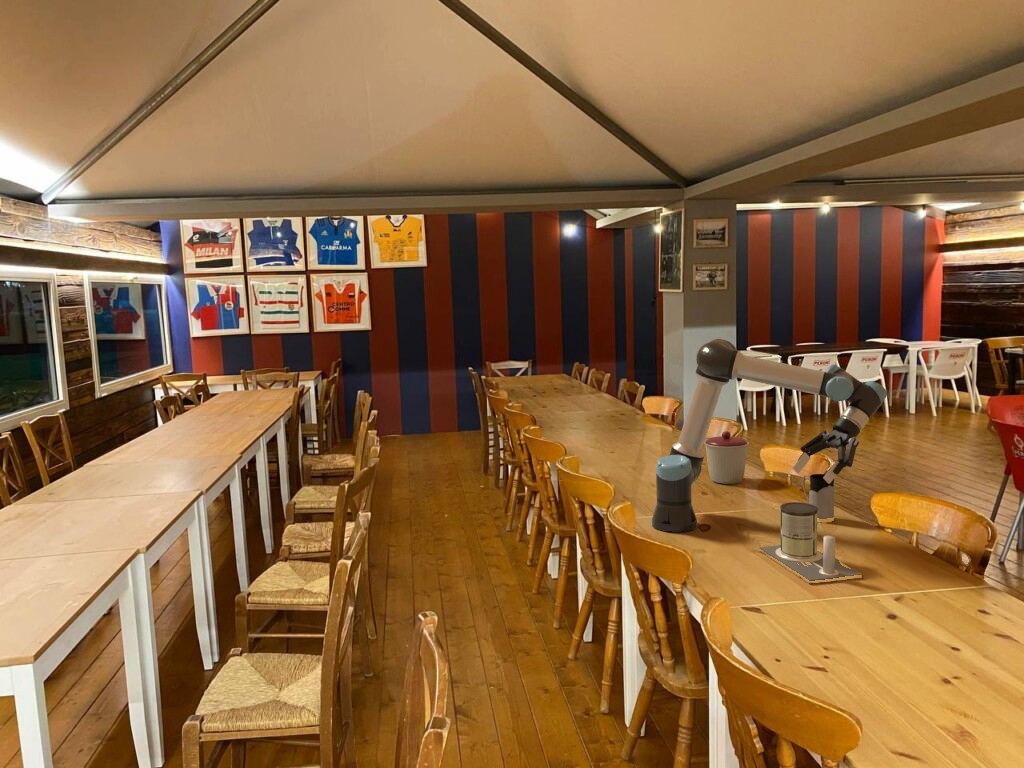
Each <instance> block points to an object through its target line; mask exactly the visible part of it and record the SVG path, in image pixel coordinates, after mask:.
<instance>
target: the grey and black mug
mask: <svg viewBox="0 0 1024 768" xmlns="http://www.w3.org/2000/svg"><path fill="white" fill-rule="evenodd" d="M825 475H826V473H814V474H811V475H809V474H805V475H803V477H802V488H803V493H804V495H805V496H804V497H806V499H807V501H808V504H812V505H814V506H816V507H817V508H818V511H817V518H819V519H827V518H833V517H834V518H835V478H834V479H833V480H832V481H831V483H830V484H829V483H827V482H826V481H825V479H824V478H823V477H824V476H825ZM806 477H807V478H808V479H809V490H808V491H809V495H808V493H807V489H806V481H805V480H806Z"/></svg>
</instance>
